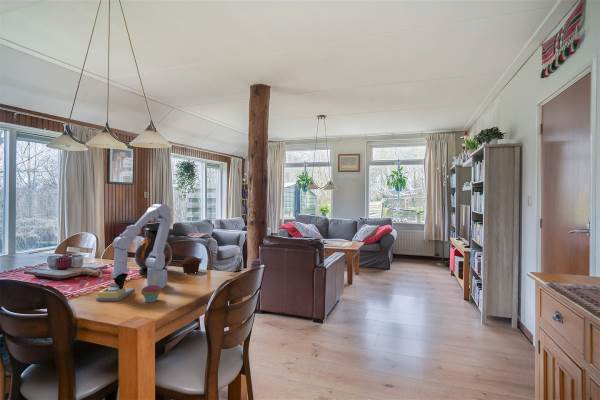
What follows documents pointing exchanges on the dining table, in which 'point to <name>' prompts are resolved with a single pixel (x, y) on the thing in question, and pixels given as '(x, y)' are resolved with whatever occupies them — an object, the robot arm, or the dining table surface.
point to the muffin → (191, 264)
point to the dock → (113, 294)
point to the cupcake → (151, 292)
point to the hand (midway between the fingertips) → (119, 289)
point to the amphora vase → (150, 250)
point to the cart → (113, 288)
